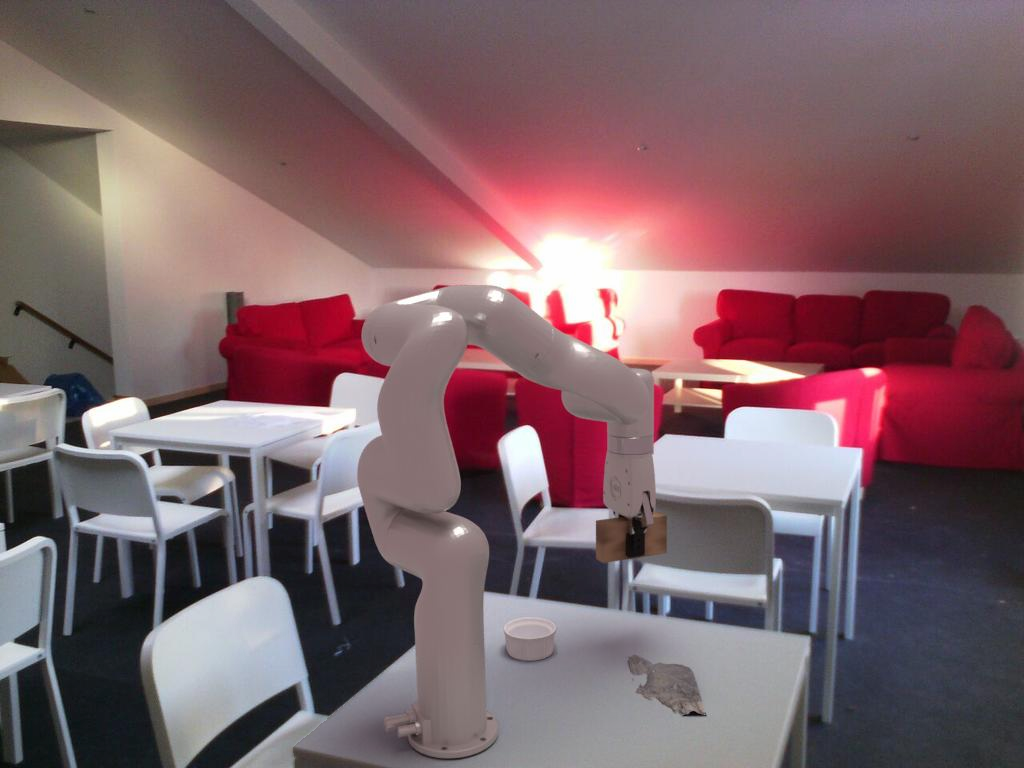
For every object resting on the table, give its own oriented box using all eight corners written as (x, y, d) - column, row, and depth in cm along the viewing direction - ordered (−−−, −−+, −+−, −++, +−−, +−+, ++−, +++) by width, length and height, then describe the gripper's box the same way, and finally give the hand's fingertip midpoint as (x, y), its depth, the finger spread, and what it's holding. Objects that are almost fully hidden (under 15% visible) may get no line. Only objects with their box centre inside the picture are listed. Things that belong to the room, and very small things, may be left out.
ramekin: (500, 642, 152) (499, 619, 151) (550, 638, 153) (549, 614, 153) (508, 666, 143) (508, 640, 143) (561, 660, 145) (561, 635, 144)
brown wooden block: (602, 563, 143) (602, 524, 142) (595, 558, 145) (595, 520, 144) (666, 553, 147) (666, 515, 146) (658, 548, 149) (658, 511, 149)
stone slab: (624, 655, 144) (685, 650, 144) (625, 665, 144) (686, 660, 144) (640, 715, 126) (709, 709, 126) (640, 726, 126) (710, 721, 126)
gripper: (587, 437, 150) (588, 542, 152) (634, 456, 135) (634, 572, 137) (626, 433, 152) (626, 536, 155) (677, 451, 137) (676, 565, 140)
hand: (630, 552), depth 146 cm, fingers closed on brown wooden block, 2 cm apart
